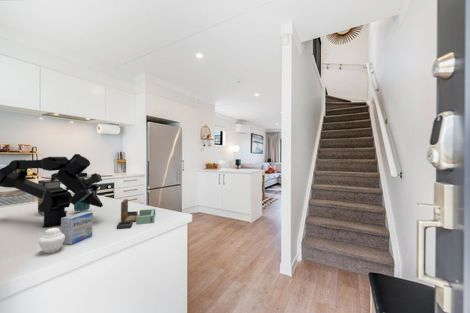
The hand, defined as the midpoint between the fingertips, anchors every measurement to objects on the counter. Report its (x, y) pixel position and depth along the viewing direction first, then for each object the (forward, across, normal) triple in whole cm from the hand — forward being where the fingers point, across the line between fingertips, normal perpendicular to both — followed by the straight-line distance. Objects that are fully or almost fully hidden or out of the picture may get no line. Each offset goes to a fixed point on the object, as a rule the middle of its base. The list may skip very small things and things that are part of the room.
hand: (102, 206), depth 89 cm
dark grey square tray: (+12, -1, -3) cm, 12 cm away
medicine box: (+3, -18, +7) cm, 20 cm away
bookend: (+14, -1, -5) cm, 15 cm away
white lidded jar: (0, -26, +10) cm, 28 cm away
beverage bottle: (-4, +19, +14) cm, 24 cm away
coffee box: (-14, +22, +25) cm, 36 cm away
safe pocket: (+17, -1, -8) cm, 19 cm away
